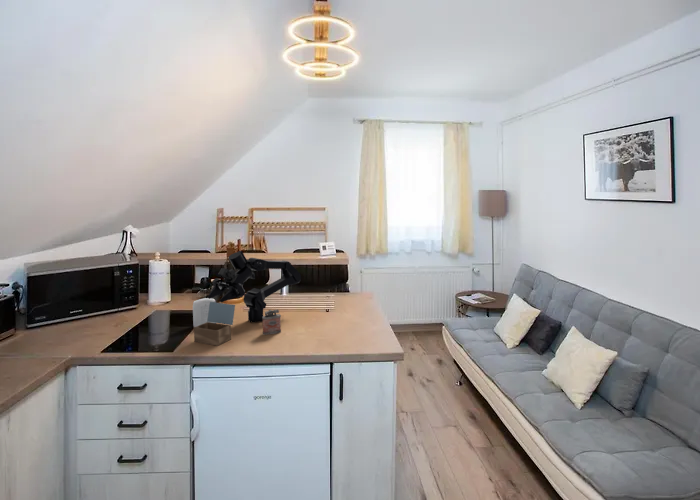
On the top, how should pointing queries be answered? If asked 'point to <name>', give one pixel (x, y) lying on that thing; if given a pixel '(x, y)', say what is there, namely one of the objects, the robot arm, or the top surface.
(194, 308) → the photo printer
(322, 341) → the top surface
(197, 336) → the walnut box
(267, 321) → the lighter
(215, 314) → the lid
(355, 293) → the top surface
